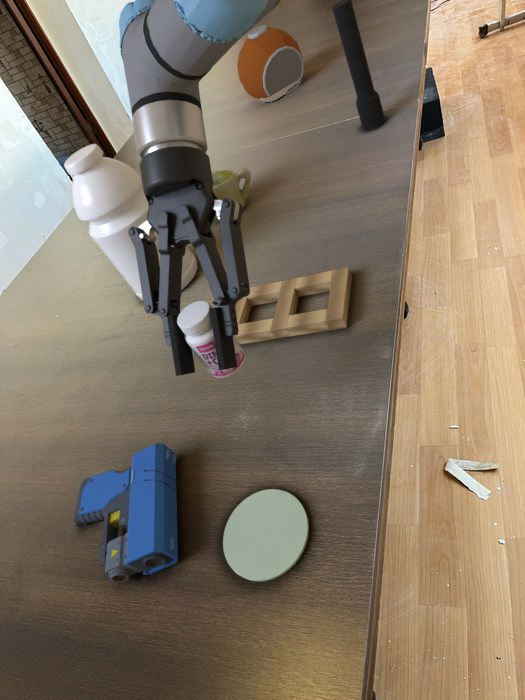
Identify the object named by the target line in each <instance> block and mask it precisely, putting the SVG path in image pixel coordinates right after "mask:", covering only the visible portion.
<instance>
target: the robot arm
mask: <svg viewBox="0 0 525 700" xmlns="http://www.w3.org/2000/svg"><path fill="white" fill-rule="evenodd" d="M282 1H283V0H134V1H133V2H132V1H129V2H127V3H126V4H125V6H124V7H123V8H122V10H121V11H120V13H119V17H118V27H119V28H118V29H119V49H120V56H121V60H122V64H123V69H124V75H125V82H126V87H127V94H128V98H129V105H130V110H131V111H130V112H131V117H132V127H133V133H134V134H133V135H134V141H135V148H136V155H137V157H138V158H139V159H140V162H139V173H140V175H141V179H142V188H143V192H144V194H145V197H146V199H147V201H148V204H149V208H148V213H147V221H145V222H144V223H143V224H142V225H140V226H139V227H138V228H137V227H130V229H129V231H128V234H129V237H130V239H131V241H132V243H133V245H134V247H135V251H136V258H137V264H138V271H139V277H140V284H141V290H142V297H143V300H142V302H143V309H144V312H145V313H146V314H148V315H149V314H151V315H155V316H158V317H160V318H161V321H162V329H163V335H164V341H165V344H166V346H167V347H171V352H172V359H173V365H174V373H175V377H179V376H185V375H189V374H194V373H196V368H195V362H194V361H195V360H194V352H193V350H192V349H191V347H190V346H189V345H188V343H187V342H186V340H185V334H184V333H183V331H182V330H181V328H180V327H179V325H178V323H177V318H178V316H179V314H180V312H181V311H182V310H181V299H182V298H181V297H182V290H181V280H182V259H183V256H184V255H185V250H186V246H188V245H190V244H191V246H192V247H193V248H194V250H195V252H196V255H197V258H198V260H199V262H200V265H201V268H202V270H203V272H204V276H205V278H206V281H207V283H208V286H209V290H210V291H211V294H212V297H213V300H214V301H212V302H211V303H212V305H213V306H215V307H212V308H210V315H211V321H212V328H213V334H214V341H215V348H216V354H217V361H218V367H219V370H226V369H230V368H234V367H237V361H236V354H235V347H234V341H233V336H235V335H238V331H239V329H238V322H237V316H236V309H235V306H236V303H237V301H239V300H240V299H242V298H243V297H247V296H248V295H249V294H250V288H251V287H250V281H249V273H248V267H247V259H246V254H245V248H244V247H245V246H244V240H243V234H242V227H241V225H242V217H243V212H244V207H243V206H242V204H241V203H238V202H236V201H234V200H231V199H229V198H226V199H224V200H218V198H217V197H216V196H215V194H214V192H213V179H212V172H211V171H212V166H211V159H210V156H209V155H208V154H207V152H208V142H207V141H208V140H207V133H206V129H205V122H204V114H203V109H202V108H203V107H202V102H201V94H200V82H201V80H202V79H203V78H204V77H205V76H206V75H207V74H209V72H210V71H211V70H212V69H213V67H215V65H216V64H217V63H218V62H219V61H220V60H222V58H223V57H224V56H225V55H226V54H227V53H228V52H229V50H231V49H232V47H234V46H235V44H237V43H238V42H239V41H240V40H241V39H242V38H243V37H244V36H245V35H247V34H248V33H249V32H251V31H252V29H253V28H254V27H256V26H257V24H258V23H260V21H262V20H263V19H264V18H265V17H266V16H267V15H268V14H270V13H271V12H272V11H273V10H274V9H275V8H276V7H277V6H278V5H279V4H280V3H281V2H282ZM216 215H217V218H218V219H219V222H218V225H219V233H220V240H221V247H222V253H223V260H224V264H223V260H222V257H221V256H220V253H219V250H218V248H217V244H218V243H217V240H216V237H215V234H214V231H213V229H212V225H213V223H214V222H215V221H214V218H215V216H216ZM154 231H156V233H157V234H158V235H159V239H158V251H159V253H160V254H161V259H160V265H159V258H158V252H157V247H156V244H155V242H154V241H156V239H157V238H156V236H155V235H154ZM171 245H172V246H174V247H172V246H171ZM224 265H225V266H224Z"/></svg>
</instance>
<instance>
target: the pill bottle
mask: <svg viewBox="0 0 525 700" xmlns="http://www.w3.org/2000/svg"><path fill="white" fill-rule="evenodd" d="M210 308H213V307H212V306H211V304H210V303H209V302H208V301H206V300H197V301H194V302H191V303H190V304H188V305H187V306H185V307H184V308H183V309H181V310H180V311H181V312H180V314H179V316H178V318H177V323H178V325H179V327H180V328H181V330H182V331H183V333H184V334H185V340H186V342H187V343H188V345H189V346H190V347H191V349H192V352H193V354H194V355H196V357H197V359H198V360H199V361H200V362H201V364H202V365H203V367H205V369H206V370H207V371H208V373H209V374H210V375H211V376H213V377H215V378H218V379H225V378H228V377H230V376H232V375H234V374H236V373H237V372H238V371H239V370H240V369H241V368H242V366H243V365H244V364H245V360H246V352H245V350H244V349H243V347H242V344H239V342H238V341H237V339H236V338H235V336H233V341H234V347H235V354H236V361H237V367H234V368H230V369H226V370H219V367H218V361H217V354H216V348H215V341H214V334H213V328H212V321H211V315H210Z"/></svg>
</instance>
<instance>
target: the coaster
mask: <svg viewBox="0 0 525 700" xmlns="http://www.w3.org/2000/svg"><path fill="white" fill-rule="evenodd" d="M309 535H310V523H309V518H308V514H307V511H306V509H305V507H304V506H303V504H302V503H301V501H300V500H299V499H298V498H297V497H296V496H295V495H293V494H292V493H290V492H289V491H285V490H283V489H277V488H269V489H264V490H260V491H256V492H254V493H252V494H250V495H249V496H248V497H246V498H245V499H243V500H241V502H240V503H239V504H238V505H236V507H235V508H234V510H233V511H232V513H231V514H230V516H229V518H228V520H227V522H226V525H225V528H224V531H223V536H222V547H223V555H224V558H225V560H226V562H227V564H228V566H229V567H230V568H231V569H232V571H233V572H234V573H235V574H236V575H238V576H239V577H240V578H242V579H246V580H247V581H250V582H259V583H261V582H263V583H264V582H269V581H271V580H275V579H277V578H280V577H281V576H283V575H285V574H286V573H287V572H288V571H290V570H291V569H292V568H293V567H294V566H295V565H296V564H297V562H298V561H299V560H300V559H301V557H302V555H303V554H304V552H305V549H306V546H307V545H308V544H307V543H308V540H309Z"/></svg>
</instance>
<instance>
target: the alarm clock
mask: <svg viewBox="0 0 525 700" xmlns="http://www.w3.org/2000/svg"><path fill="white" fill-rule="evenodd" d="M238 52H239V53H238V58H237V63H236V64H237V65H236V66H237V74H238V78H239V81H240V84H241V85H242V87H243V88H244V91H245V92H246V93H247V94H248V95H249V96H250V97H251V98H253V99H255V98H257V99H260V98H267V97H271V96H272V95H273V94H275V93H277V92H278V91H280V90H282V89H283V88H285V87H287V86H288V85H290V84H291V83H293V82H295V81H297V80H298V79H300V78H302V79H303V76H304V72H305V69H304V68H305V65H304V64H305V63H304V56H303V53H302V50H301V48H300V46H299V43H298V41H297V40H296V39H295V38H294V37H292V35H290V34H289V33H288V32H287V31H286V30H284V29H282V28H277V27H270V26H267V25H264V24H263V25H261V26H257V27H255V28H254V29H253V30H250V31H249V32H248V33H247V38H246V39H245V40H244V42H243V44H242V46H241V47H240V50H239V51H238ZM301 83H302V80H301V81H300V82H298V83H297V84H295V85H294V86H293V87H291V88H290V89H288V91H287V92H286V95H285V96H287V95H288V94H290V93H291V92H293V91H294V90H296V89H297V88H299V86H300V84H301Z"/></svg>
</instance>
